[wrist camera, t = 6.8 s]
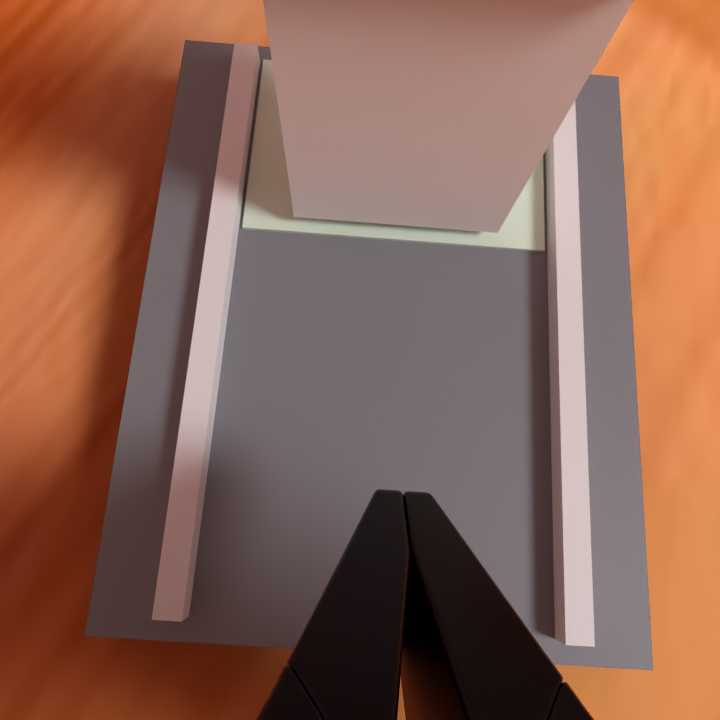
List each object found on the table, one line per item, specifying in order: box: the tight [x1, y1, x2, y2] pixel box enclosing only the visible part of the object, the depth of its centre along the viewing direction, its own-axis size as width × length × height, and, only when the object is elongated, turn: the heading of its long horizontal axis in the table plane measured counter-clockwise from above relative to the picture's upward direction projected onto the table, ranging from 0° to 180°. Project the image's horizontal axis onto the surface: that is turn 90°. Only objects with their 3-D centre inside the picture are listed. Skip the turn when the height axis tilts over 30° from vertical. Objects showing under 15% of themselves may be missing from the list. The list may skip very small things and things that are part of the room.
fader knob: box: [263, 0, 633, 233], centre depth 10 cm, size 4×6×10 cm, turn 86°
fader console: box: [84, 40, 653, 670], centre depth 15 cm, size 15×12×3 cm
